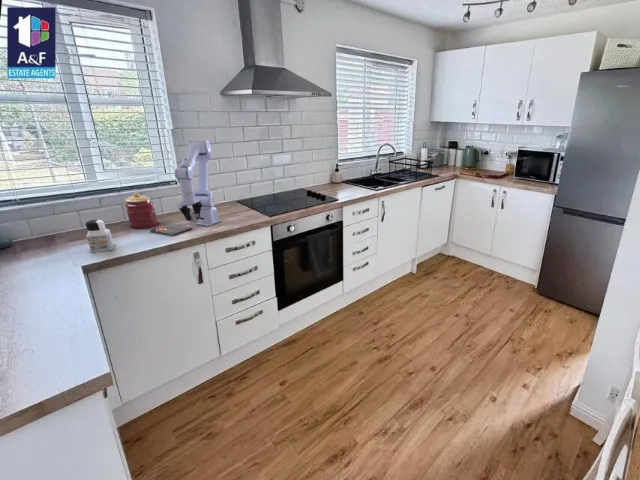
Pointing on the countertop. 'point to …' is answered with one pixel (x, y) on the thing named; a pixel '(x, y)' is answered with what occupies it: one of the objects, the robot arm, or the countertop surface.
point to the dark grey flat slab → (170, 229)
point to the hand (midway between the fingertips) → (193, 218)
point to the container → (98, 236)
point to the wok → (195, 217)
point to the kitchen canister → (140, 211)
